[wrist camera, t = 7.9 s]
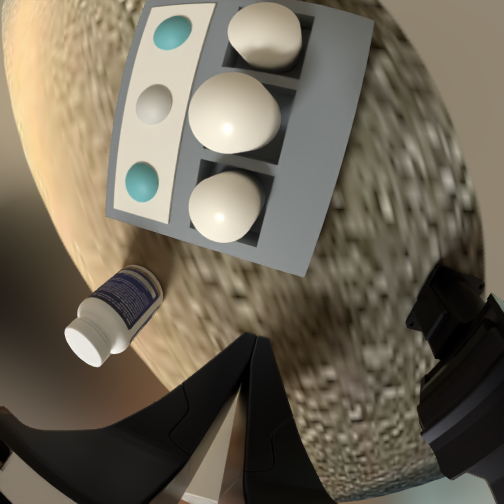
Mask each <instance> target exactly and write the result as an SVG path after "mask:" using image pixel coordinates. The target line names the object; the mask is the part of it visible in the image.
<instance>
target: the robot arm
mask: <svg viewBox="0 0 504 504" xmlns="http://www.w3.org/2000/svg"><path fill="white" fill-rule="evenodd" d="M440 269H442V270H441V271H440V272H439V270H440ZM479 286H480V287H479ZM484 286H485V284H484V282H483V281H482V280H480V279H478V278H475V277H473V276H471V275H468V274H466V273H463V272H461V271H458V270H456V269H453V268H451V267H448V266H446V265H443V264H438V265H437V266H436V267H435V269H434V271H433V273H432V275H431V277H430V279H429V281H428V283H427V285H426V286H425V287H424V289H423V291H422V293H421V295H420V296H419V298H418V300H417V302H416V304H415V305H414V307H413V309H412V312H411V313H410V315H409V317H408V318H407V320H406V326H407V328H409V329H413V330H417V331H421V332H422V333H423V335H424V338H425V340H427V341H428V343H429V345H430V348H431V350H432V352H433V355H434V357H435V359H439V362H438V364H437V365H436V366H435V367H434V368H433V369H432V370H431V371H430V372H429V373H428V374H426V375H425V376H424V377H423V378H422V379H421V388H420V404H419V405H418V406H417V413H418V417H419V423H420V426H421V428H422V430H423V431H422V432H421V433H420V435H421V436H422V437H423V439H424V440H425V441H426V442H427V443H428V444H429V445H430V447H431V448H432V450H433V452H434V454H435V456H436V458H437V461H438V464H439V467H440V470H441V472H442V474H443V475H445V476H446V477H447V478H448V479H450V480H454V479H456V478H458V477H459V476H461V475H463V474H464V473H469V474H471V475H474V476H477V477H480V478H482V479H485V481H486V482H487V484H488V486H489V488H490V490H491V493H492V495H493V497H494V500H495V502H496V504H504V301H502V300H501V299H499V298H498V297H497V296H495V295H494V294H492V293H491V294H490V295H489V297H488V298H487V302H486V303H485V302H484V301H483V299H482V298H481V297H480V294H481V292H482V290H483V289H484ZM411 322H412V323H411ZM410 323H411V324H410ZM256 337H257V338H256ZM241 383H242V384H241ZM240 386H241V387H240ZM239 389H240V390H239ZM238 392H239V394H238ZM237 394H238V398H237V404H236V409H235V415H234V420H233V426H232V431H231V437H230V442H229V447H228V453H227V458H226V463H225V469H224V474H223V479H222V484H221V490H220V495H219V500H218V504H338V503H336V502H335V501H334V500H333V499H332V498H331V497H330V496H329V494H328V493H327V492H326V490H325V488H324V487H323V485H322V483H321V481H320V479H319V477H318V475H317V473H316V471H315V469H314V467H313V465H312V463H311V461H310V459H309V457H308V455H307V452H306V450H305V448H304V446H303V443H302V441H301V438H300V435H299V433H298V430H297V427H296V423H295V420H294V418H293V414H292V411H291V408H290V404H289V401H288V398H287V395H286V392H285V388H284V385H283V382H282V378H281V375H280V372H279V369H278V365H277V362H276V359H275V356H274V352H273V349H272V346H271V342H270V339H269V338H266V337H263V336H257V335H256V334H253V333H250V332H244V333H243V334H242V335H240V336H239V337H238V338H237V339H236V340H235V341H233V342H232V343H231V344H230V345H229V346H227V347H226V348H225V349H224V350H223V351H221V352H220V353H219V354H218V355H216V356H215V357H214V358H213V359H212V360H210V361H209V362H208V363H207V364H205V365H204V366H203V367H202V368H200V369H199V370H198V371H197V372H195V373H194V374H193V375H192V376H190V377H189V378H188V379H187V380H185V381H184V382H183V383H182V385H181V384H180V385H179V386H177V387H176V388H175V389H173V390H172V391H171V392H169V393H168V394H166V395H165V396H164V397H162V398H161V399H159V400H157V401H156V402H154V403H152V404H151V405H149V406H147V407H145V408H143V409H141V410H139V411H138V412H136V413H134V414H132V415H130V416H128V417H126V418H124V419H122V420H120V421H118V422H116V423H113V424H111V425H109V426H106V427H102V428H97V429H86V430H40V429H35V428H31V427H29V426H26V425H25V424H23V423H22V422H20V421H19V420H18V419H17V418H16V417H15V416H14V415H13V414H12V413H11V412H10V411H9V410H8V409H7V408H5V406H0V504H178V503H179V501H180V499H181V498H182V496H183V495H184V493H185V491H186V489H187V488H188V486H189V484H190V483H191V481H192V479H193V477H194V476H195V474H196V472H197V470H198V469H199V467H200V465H201V463H202V461H203V460H204V458H205V456H206V454H207V452H208V450H209V449H210V447H211V445H212V443H213V441H214V439H215V437H216V435H217V434H218V432H219V430H220V428H221V426H222V424H223V422H224V420H225V418H226V416H227V414H228V412H229V410H230V408H231V406H232V404H233V402H234V400H235V398H236V396H237Z"/></svg>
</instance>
